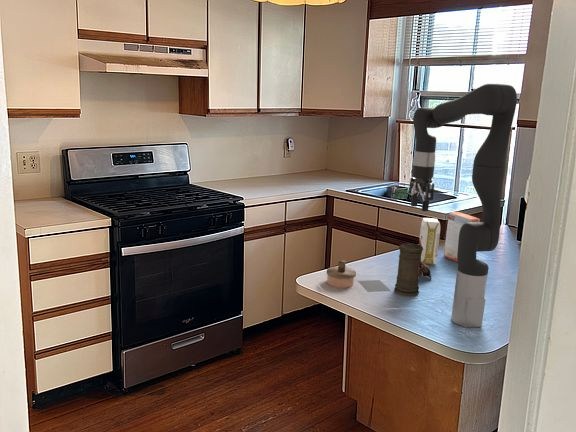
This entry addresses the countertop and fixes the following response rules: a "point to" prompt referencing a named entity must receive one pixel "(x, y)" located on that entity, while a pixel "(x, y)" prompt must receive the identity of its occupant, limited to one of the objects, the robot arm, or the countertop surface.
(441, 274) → the countertop surface
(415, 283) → the container
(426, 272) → the pottery mug
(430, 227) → the juice carton
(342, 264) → the lid
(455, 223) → the cracker box
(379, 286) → the mat
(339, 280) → the bowl
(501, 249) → the countertop surface
